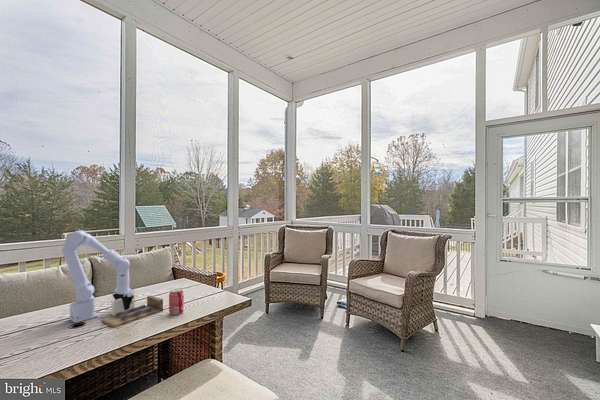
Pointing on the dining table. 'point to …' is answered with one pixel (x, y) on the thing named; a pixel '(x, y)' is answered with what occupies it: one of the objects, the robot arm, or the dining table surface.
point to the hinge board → (136, 312)
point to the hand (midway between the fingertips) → (123, 307)
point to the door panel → (119, 306)
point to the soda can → (176, 301)
